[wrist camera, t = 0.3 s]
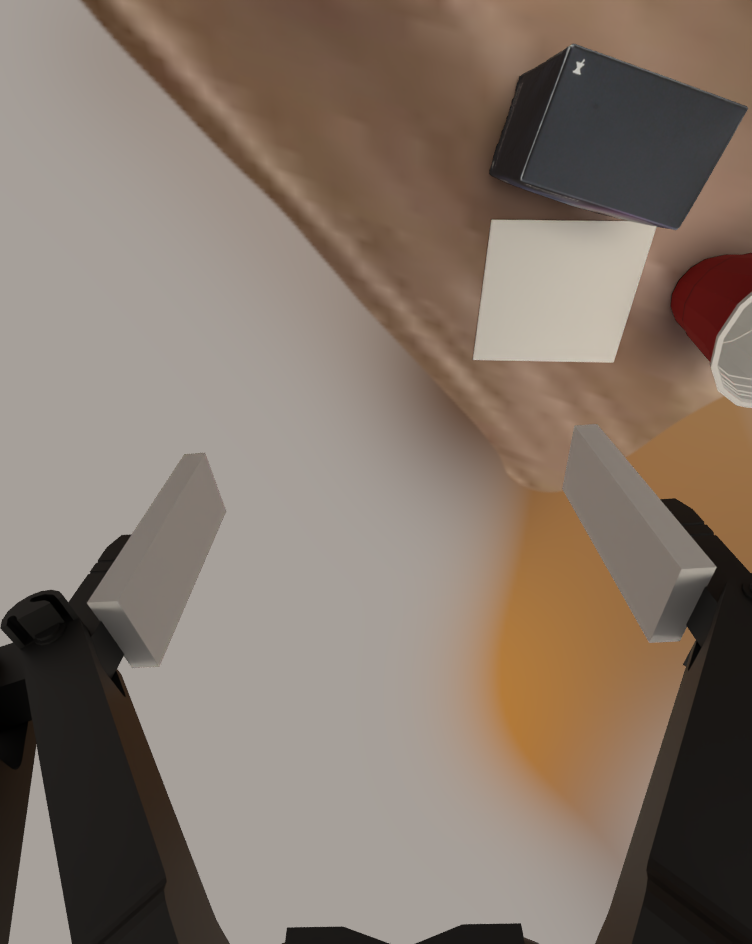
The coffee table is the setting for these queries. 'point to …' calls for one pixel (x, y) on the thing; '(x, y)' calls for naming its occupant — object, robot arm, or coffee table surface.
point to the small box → (613, 137)
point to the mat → (559, 289)
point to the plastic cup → (720, 320)
